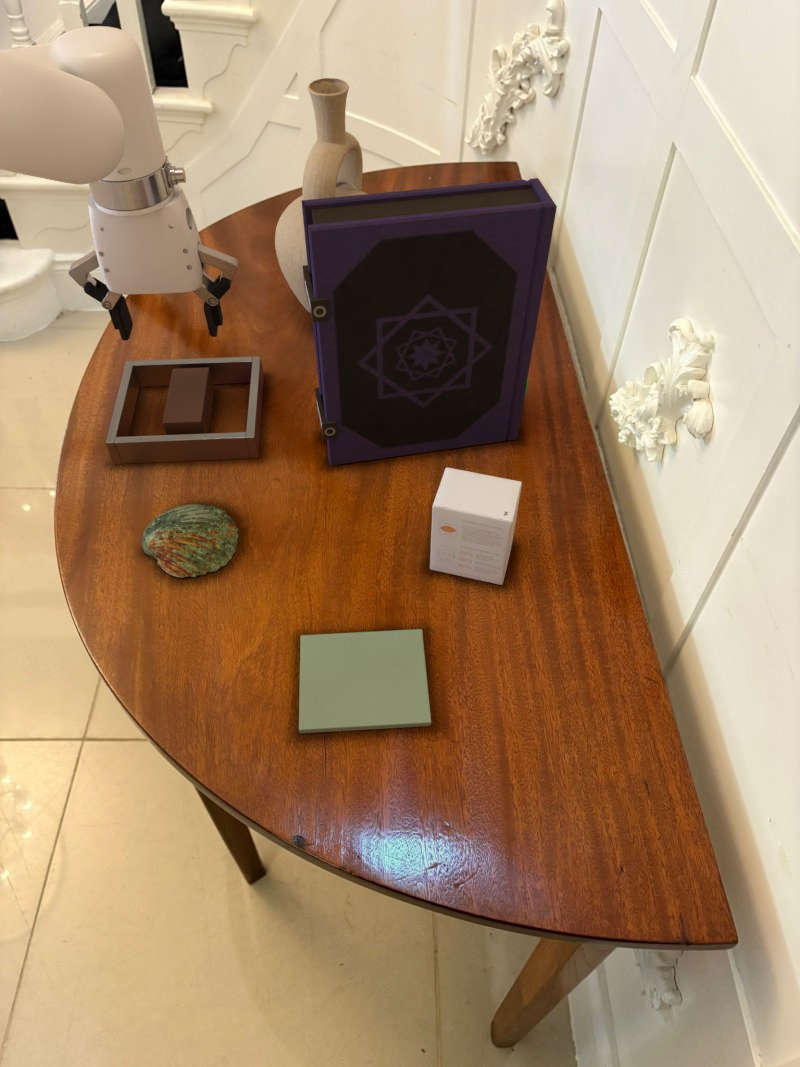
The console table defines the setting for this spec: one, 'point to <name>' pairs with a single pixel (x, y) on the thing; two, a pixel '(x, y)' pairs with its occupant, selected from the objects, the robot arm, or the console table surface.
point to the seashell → (191, 540)
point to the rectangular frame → (185, 444)
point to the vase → (320, 177)
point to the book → (424, 314)
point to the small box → (473, 525)
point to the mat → (363, 681)
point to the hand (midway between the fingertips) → (171, 331)
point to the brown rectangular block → (189, 402)
